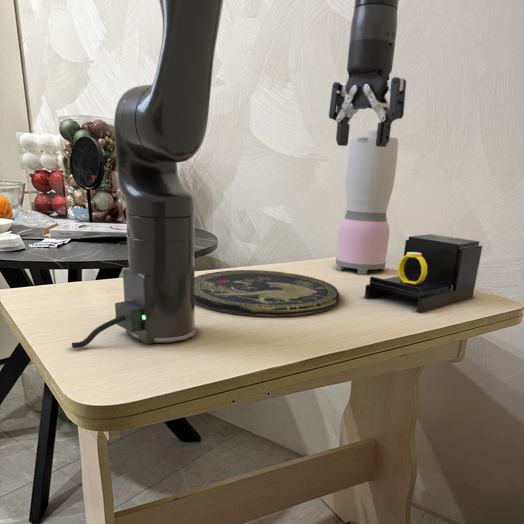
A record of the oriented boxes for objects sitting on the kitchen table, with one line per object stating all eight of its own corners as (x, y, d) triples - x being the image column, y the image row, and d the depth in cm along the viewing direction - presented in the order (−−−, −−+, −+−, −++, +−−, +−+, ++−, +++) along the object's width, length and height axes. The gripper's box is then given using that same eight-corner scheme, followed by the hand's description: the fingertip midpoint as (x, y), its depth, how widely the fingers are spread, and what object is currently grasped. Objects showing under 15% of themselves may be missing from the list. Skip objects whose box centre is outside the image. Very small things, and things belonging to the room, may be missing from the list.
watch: (427, 286, 100) (432, 255, 98) (418, 287, 98) (422, 256, 96) (403, 279, 105) (407, 250, 102) (393, 281, 103) (398, 250, 101)
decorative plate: (155, 278, 102) (270, 264, 121) (155, 288, 103) (270, 272, 121) (249, 318, 81) (372, 293, 99) (249, 329, 82) (371, 302, 100)
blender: (370, 277, 122) (387, 129, 111) (325, 268, 129) (338, 128, 118) (398, 268, 134) (416, 134, 123) (356, 261, 141) (370, 133, 130)
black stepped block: (420, 312, 95) (429, 249, 91) (364, 297, 103) (371, 239, 99) (472, 297, 107) (483, 241, 103) (419, 285, 116) (427, 233, 112)
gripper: (325, 42, 89) (317, 144, 94) (395, 31, 79) (381, 145, 85) (352, 50, 94) (343, 146, 99) (422, 40, 84) (407, 148, 90)
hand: (361, 146), depth 92 cm, fingers open, 8 cm apart
